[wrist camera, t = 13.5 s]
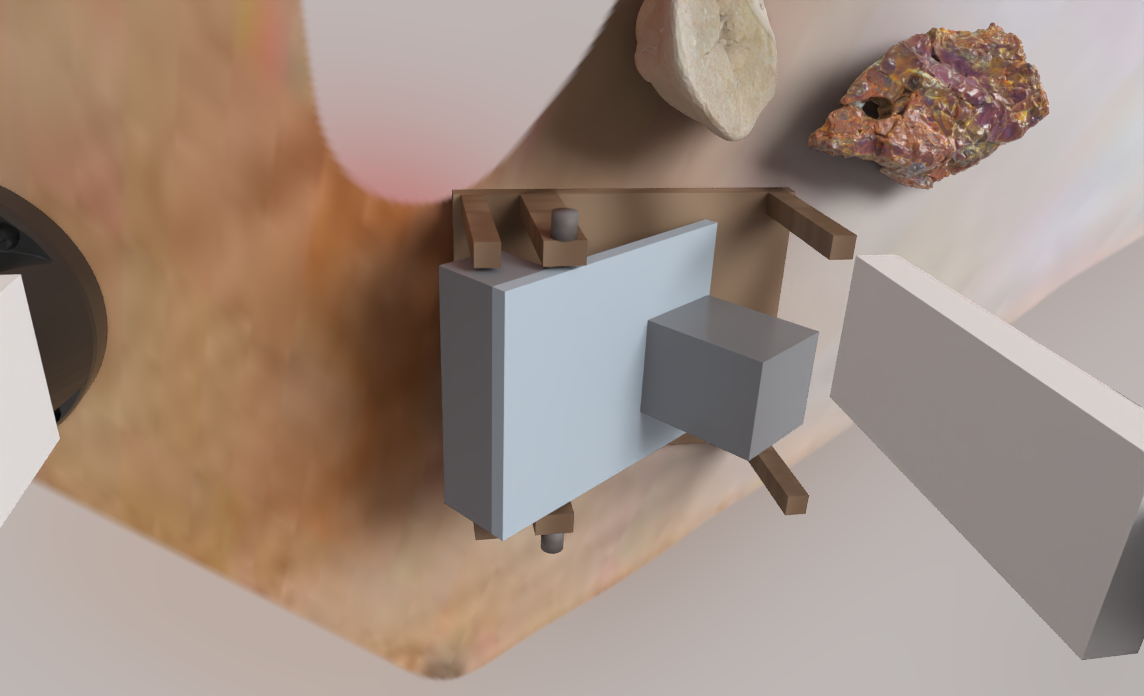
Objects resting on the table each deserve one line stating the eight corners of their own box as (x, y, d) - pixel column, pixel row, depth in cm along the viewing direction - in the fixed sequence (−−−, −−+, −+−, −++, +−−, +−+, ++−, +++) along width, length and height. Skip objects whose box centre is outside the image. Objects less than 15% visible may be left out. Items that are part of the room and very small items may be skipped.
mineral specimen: (870, 249, 50) (893, 235, 44) (787, 147, 51) (798, 117, 44) (1047, 116, 49) (1100, 80, 42) (960, 13, 49) (998, -39, 43)
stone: (802, -14, 46) (855, 126, 41) (703, 66, 50) (741, 202, 45) (675, -134, 39) (720, 17, 35) (573, -31, 44) (600, 117, 39)
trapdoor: (444, 503, 45) (502, 541, 42) (438, 265, 40) (504, 291, 37) (638, 403, 56) (693, 428, 53) (654, 205, 50) (717, 222, 48)
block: (639, 411, 48) (748, 461, 44) (647, 319, 46) (763, 362, 41) (697, 381, 52) (803, 423, 48) (707, 294, 49) (818, 331, 45)
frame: (456, 466, 53) (468, 560, 45) (451, 167, 46) (464, 216, 37) (750, 447, 57) (809, 531, 49) (791, 166, 49) (870, 211, 41)
